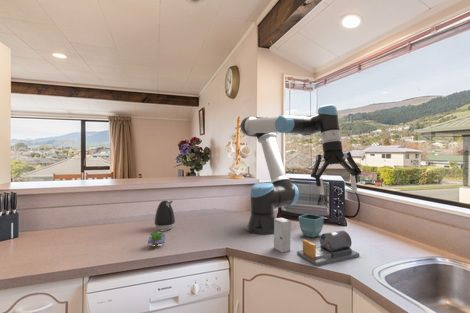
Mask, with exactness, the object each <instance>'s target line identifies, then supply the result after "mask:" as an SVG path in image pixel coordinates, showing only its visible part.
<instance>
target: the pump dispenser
mask: <svg viewBox="0 0 470 313" xmlns="http://www.w3.org/2000/svg"><path fill="white" fill-rule="evenodd" d="M172 203H173V200H170V201H168V200H161V201H160V202H159V204H158V206H157V209H156V211H155V215H154V225H155V228H156V229H157V230H158V231H160V230H168V231H170V230H172V229H173V227H174V225H175V223H176V219H175V218H176V217H175V213H174V209H173V206H172ZM171 228H172V229H171ZM169 229H170V230H169Z"/></svg>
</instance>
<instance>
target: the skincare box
mask: <svg viewBox="0 0 470 313" xmlns="http://www.w3.org/2000/svg"><path fill="white" fill-rule="evenodd" d="M291 227H292V221H291V220H289V219H287V218H284V217H277V218H275V219H274V233H273V248H274V249H276V250H277V251H278V252H281V253H286V252H290V251H291V236H292V235H291V230H292V228H291Z"/></svg>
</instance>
